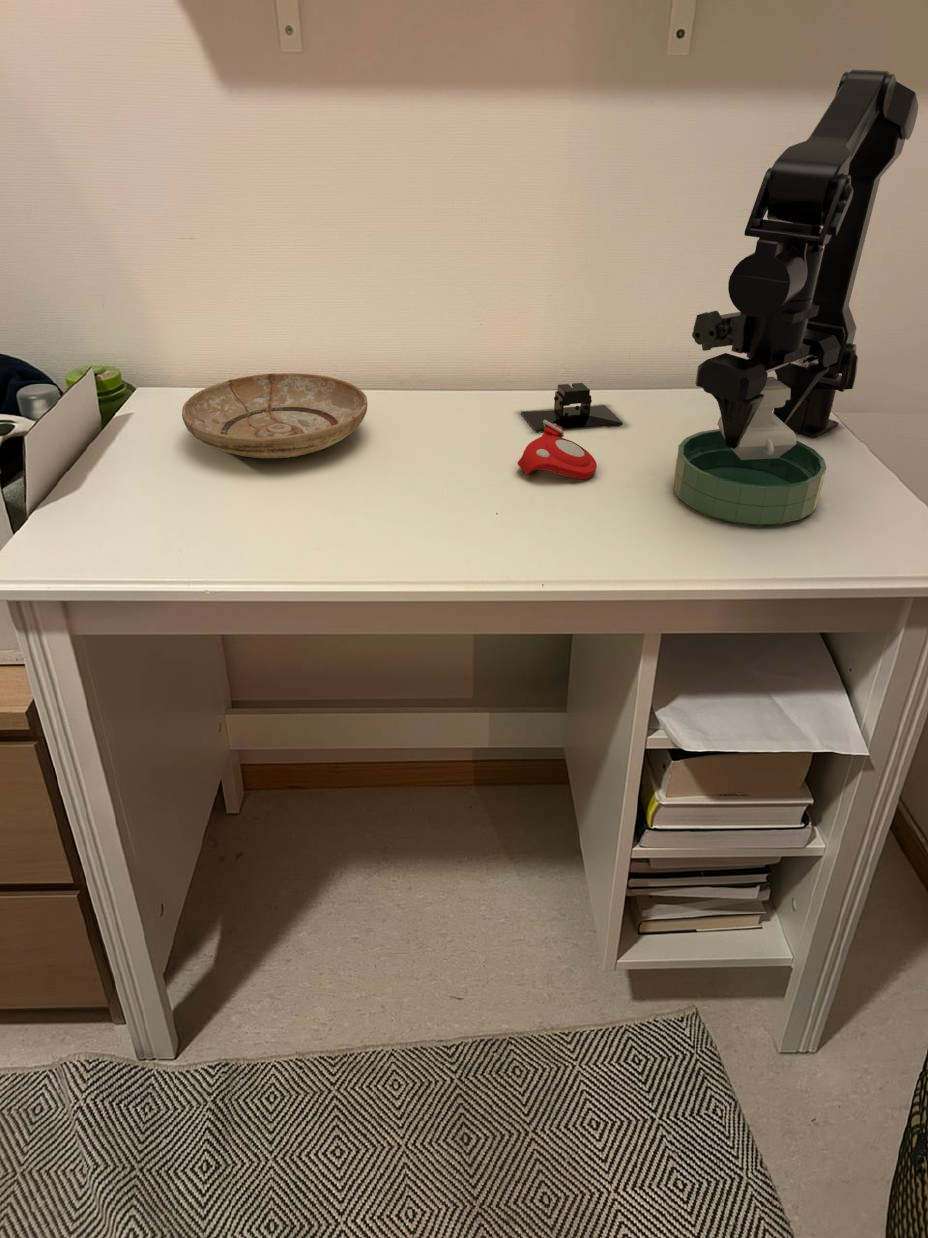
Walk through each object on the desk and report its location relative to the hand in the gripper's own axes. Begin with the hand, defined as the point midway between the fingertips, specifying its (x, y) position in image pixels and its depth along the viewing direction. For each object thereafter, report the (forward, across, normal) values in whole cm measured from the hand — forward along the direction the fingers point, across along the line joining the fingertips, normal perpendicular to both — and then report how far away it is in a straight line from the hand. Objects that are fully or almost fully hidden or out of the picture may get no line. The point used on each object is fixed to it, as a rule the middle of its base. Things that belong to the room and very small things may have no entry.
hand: (755, 436), depth 103 cm
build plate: (+8, -2, -29) cm, 30 cm away
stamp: (+2, 0, 0) cm, 2 cm away
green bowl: (+7, 0, 0) cm, 7 cm away
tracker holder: (+8, +10, -20) cm, 24 cm away
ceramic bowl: (+7, +32, -49) cm, 59 cm away
